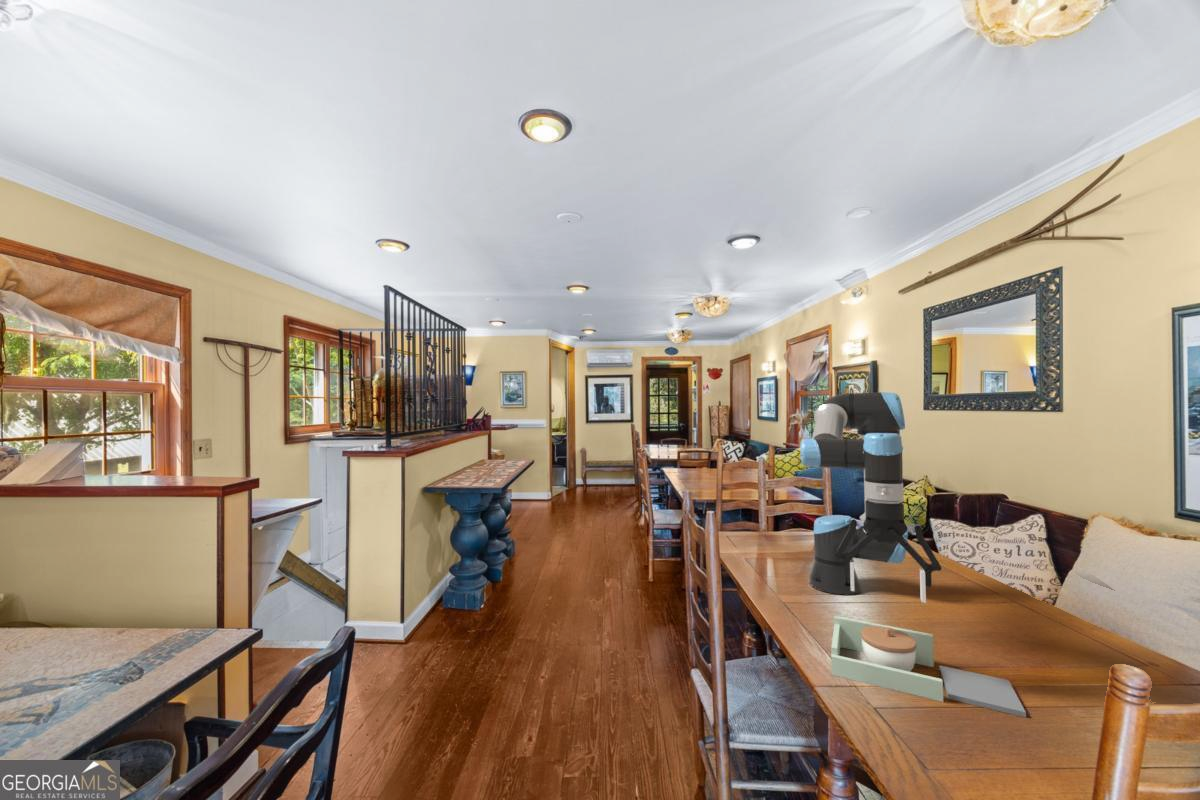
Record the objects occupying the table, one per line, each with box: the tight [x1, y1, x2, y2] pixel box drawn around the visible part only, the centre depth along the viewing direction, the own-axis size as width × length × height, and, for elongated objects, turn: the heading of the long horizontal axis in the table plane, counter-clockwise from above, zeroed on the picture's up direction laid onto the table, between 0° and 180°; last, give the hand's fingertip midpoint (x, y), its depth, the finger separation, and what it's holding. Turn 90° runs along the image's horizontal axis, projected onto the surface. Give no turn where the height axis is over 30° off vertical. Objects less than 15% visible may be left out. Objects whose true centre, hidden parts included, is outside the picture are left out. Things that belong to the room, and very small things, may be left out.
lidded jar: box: [861, 626, 917, 672], centre depth 104 cm, size 11×11×9 cm
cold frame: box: [830, 615, 944, 703], centre depth 104 cm, size 16×20×7 cm
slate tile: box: [938, 665, 1027, 718], centre depth 96 cm, size 12×12×1 cm
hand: (886, 594), depth 104 cm, fingers open, 13 cm apart
